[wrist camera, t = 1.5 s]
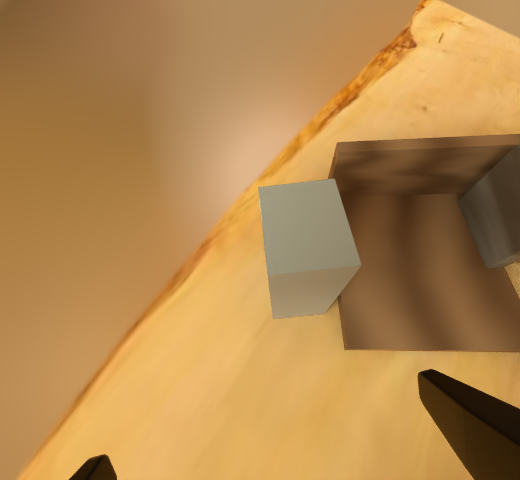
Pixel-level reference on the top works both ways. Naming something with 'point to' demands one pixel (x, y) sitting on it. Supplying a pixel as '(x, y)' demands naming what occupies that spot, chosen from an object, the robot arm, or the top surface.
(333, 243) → the grey upright block
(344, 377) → the top surface
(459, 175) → the wooden l-bracket
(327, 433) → the top surface
